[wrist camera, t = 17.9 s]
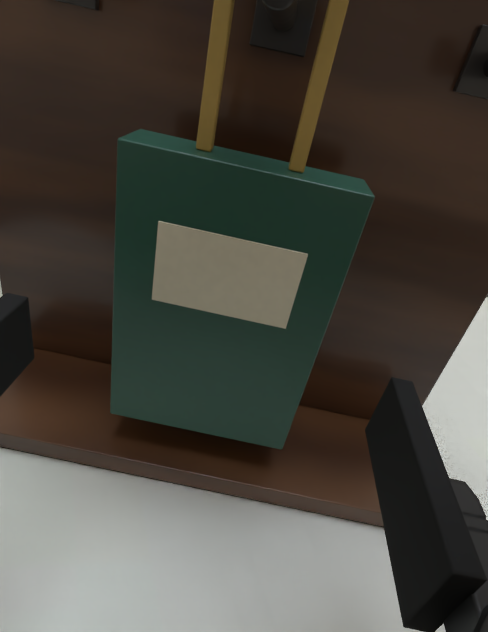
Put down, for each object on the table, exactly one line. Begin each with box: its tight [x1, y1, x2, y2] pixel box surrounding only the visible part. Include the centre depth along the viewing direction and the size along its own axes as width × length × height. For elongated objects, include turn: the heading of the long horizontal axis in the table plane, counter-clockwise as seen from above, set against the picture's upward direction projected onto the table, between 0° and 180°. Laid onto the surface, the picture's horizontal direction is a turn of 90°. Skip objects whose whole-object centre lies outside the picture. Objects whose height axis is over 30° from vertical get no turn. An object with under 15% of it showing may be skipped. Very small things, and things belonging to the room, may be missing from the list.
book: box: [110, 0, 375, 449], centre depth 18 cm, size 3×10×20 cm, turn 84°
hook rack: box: [0, 0, 488, 527], centre depth 19 cm, size 10×28×26 cm, turn 84°
